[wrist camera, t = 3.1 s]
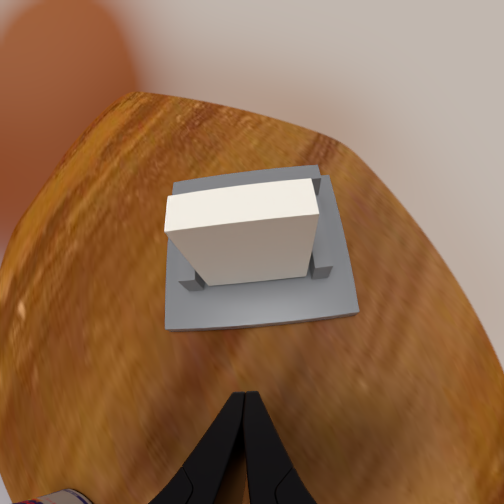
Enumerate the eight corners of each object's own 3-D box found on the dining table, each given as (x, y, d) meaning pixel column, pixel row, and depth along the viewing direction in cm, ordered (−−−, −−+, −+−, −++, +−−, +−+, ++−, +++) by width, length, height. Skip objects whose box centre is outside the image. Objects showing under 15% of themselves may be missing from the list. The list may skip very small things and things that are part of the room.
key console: (355, 315, 20) (378, 295, 14) (171, 331, 20) (136, 317, 15) (327, 183, 24) (334, 139, 19) (176, 200, 25) (154, 162, 20)
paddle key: (306, 276, 20) (319, 213, 12) (208, 285, 20) (164, 231, 12) (302, 250, 20) (311, 178, 13) (208, 260, 21) (167, 196, 13)
